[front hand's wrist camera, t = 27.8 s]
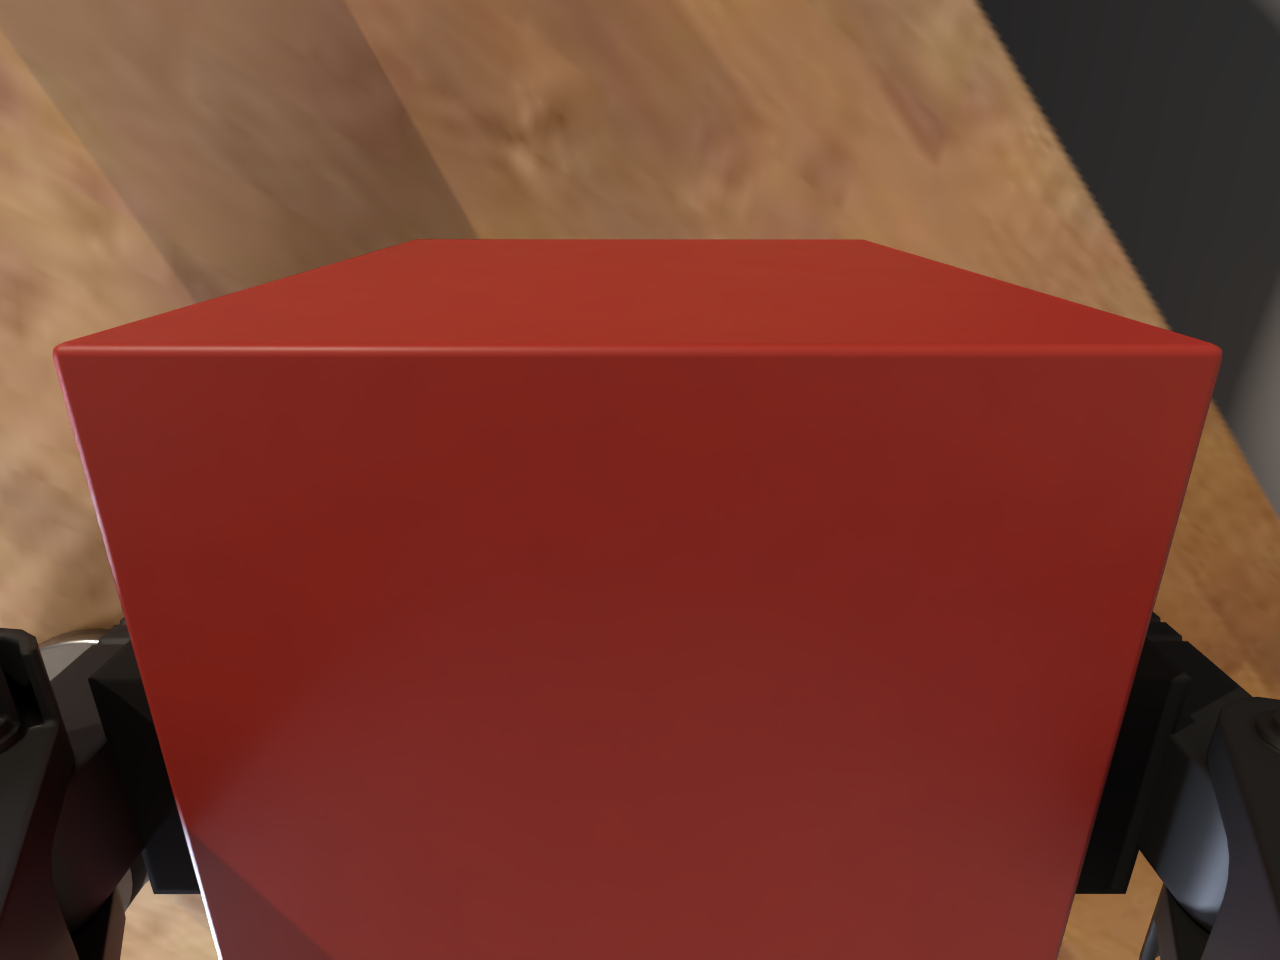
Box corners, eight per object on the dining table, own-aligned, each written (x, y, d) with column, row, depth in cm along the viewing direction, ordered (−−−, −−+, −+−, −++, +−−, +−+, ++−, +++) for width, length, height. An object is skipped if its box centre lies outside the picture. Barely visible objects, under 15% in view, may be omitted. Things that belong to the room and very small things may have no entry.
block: (867, 239, 15) (1231, 345, 6) (826, 636, 18) (1018, 1115, 9) (412, 239, 15) (43, 345, 6) (452, 635, 18) (258, 1113, 9)
